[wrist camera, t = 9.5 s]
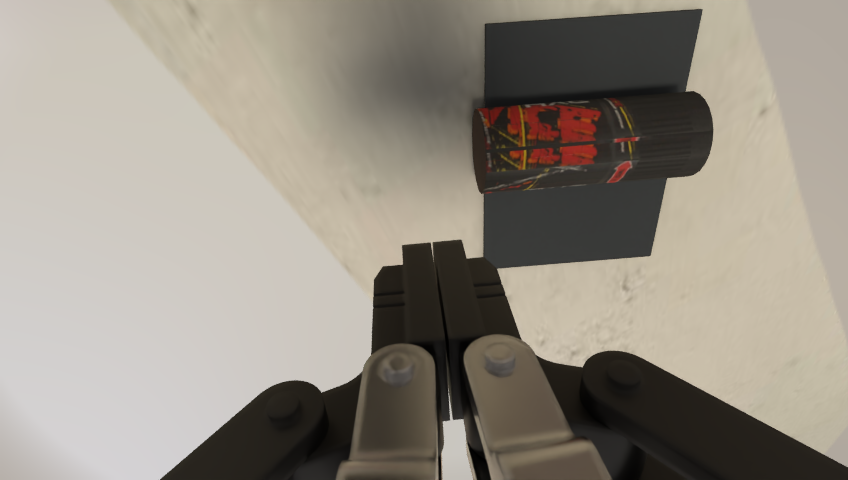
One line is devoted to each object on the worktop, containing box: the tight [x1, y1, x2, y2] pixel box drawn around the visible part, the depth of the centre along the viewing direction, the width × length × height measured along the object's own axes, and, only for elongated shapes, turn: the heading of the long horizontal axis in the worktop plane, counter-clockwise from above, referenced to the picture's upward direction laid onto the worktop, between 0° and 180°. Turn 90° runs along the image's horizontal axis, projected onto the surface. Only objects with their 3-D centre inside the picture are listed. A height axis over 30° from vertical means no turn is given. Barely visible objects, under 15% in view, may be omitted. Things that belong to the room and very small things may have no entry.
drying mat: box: [484, 9, 702, 268], centre depth 38 cm, size 20×15×1 cm
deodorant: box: [472, 91, 713, 194], centre depth 34 cm, size 6×6×15 cm
